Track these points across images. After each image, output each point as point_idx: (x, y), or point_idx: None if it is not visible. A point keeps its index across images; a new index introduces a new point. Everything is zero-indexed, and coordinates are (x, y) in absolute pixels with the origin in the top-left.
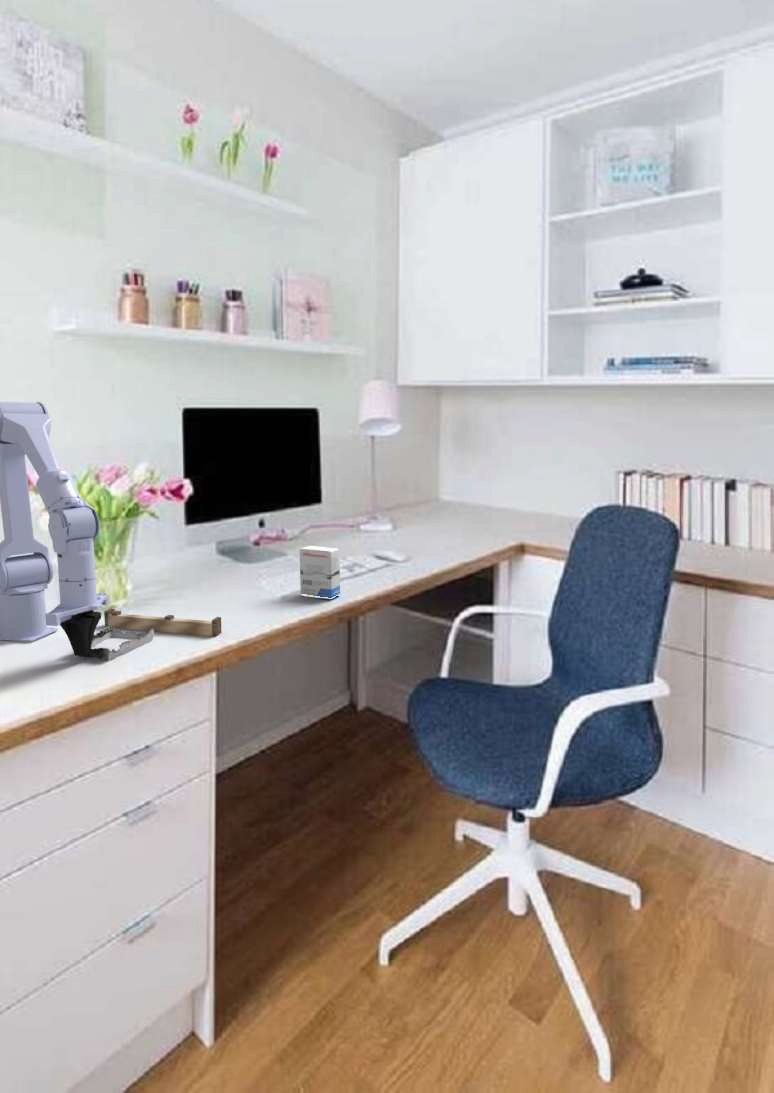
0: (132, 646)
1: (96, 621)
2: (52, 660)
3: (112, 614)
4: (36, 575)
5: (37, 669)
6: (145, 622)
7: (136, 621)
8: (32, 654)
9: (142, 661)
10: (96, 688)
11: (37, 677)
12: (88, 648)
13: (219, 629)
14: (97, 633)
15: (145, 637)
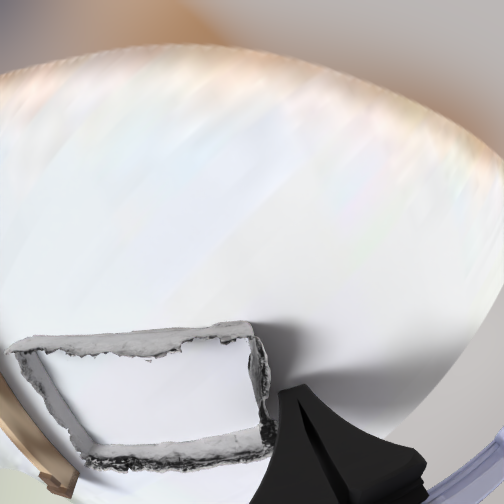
0: (107, 340)
1: (290, 487)
2: None
3: (58, 483)
4: None
5: (378, 407)
6: (6, 410)
7: (21, 431)
8: None
9: (182, 197)
10: (442, 159)
11: (422, 361)
12: (297, 400)
13: None
14: (137, 469)
15: (41, 346)
